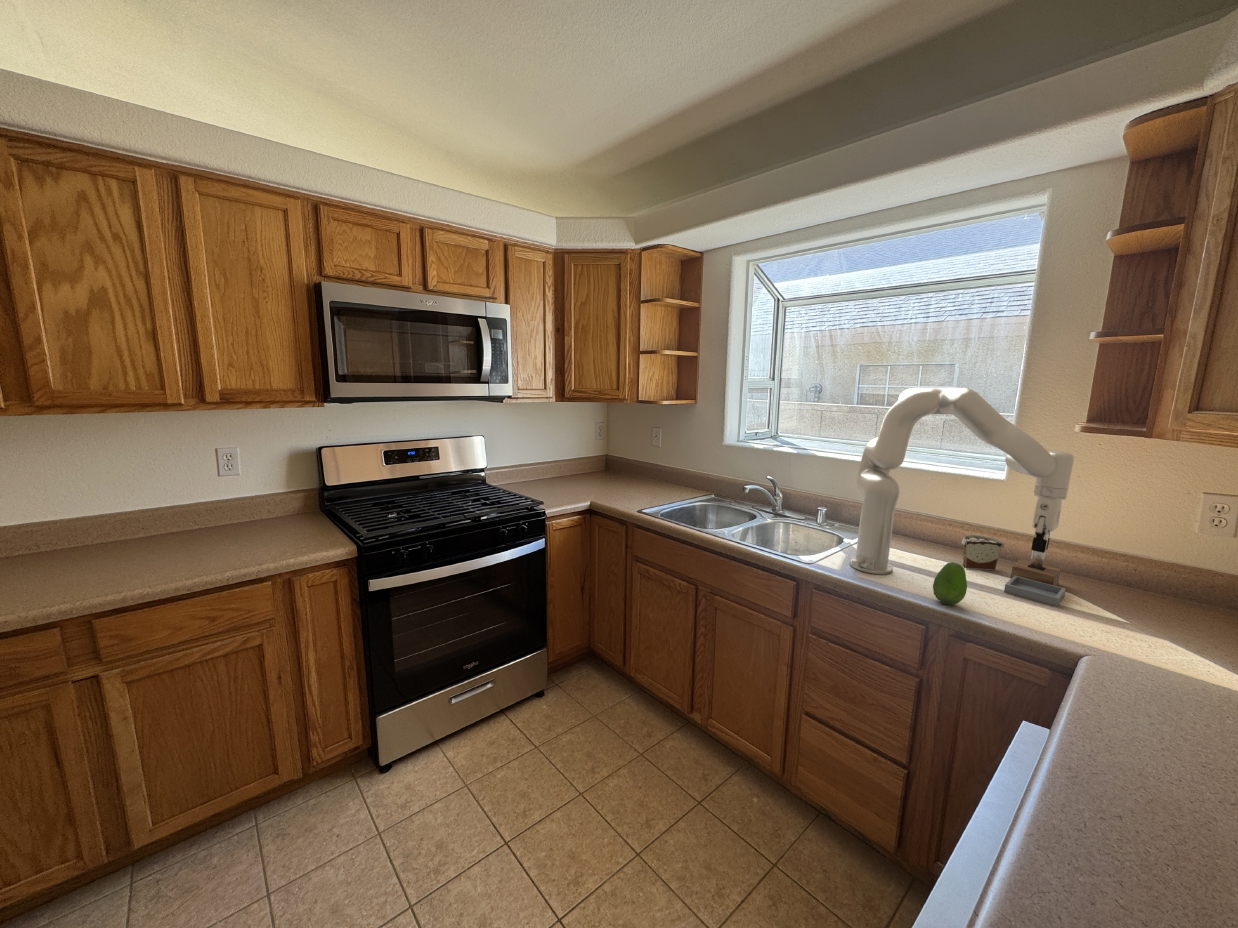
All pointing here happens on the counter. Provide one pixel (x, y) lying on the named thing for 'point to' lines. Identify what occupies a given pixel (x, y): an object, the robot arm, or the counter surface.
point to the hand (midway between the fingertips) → (1039, 549)
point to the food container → (981, 552)
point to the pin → (1038, 558)
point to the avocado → (950, 584)
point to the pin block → (1036, 572)
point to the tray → (1035, 590)
